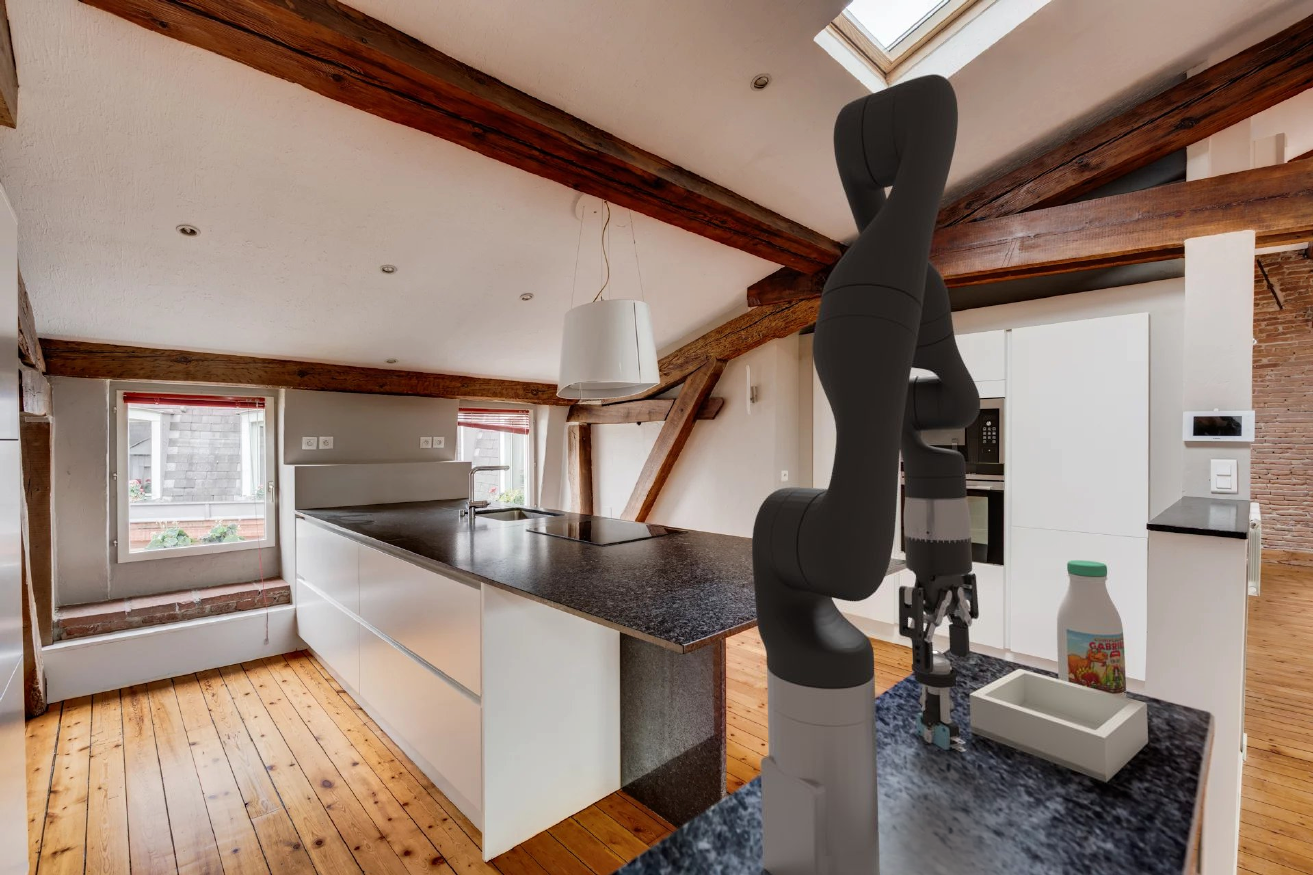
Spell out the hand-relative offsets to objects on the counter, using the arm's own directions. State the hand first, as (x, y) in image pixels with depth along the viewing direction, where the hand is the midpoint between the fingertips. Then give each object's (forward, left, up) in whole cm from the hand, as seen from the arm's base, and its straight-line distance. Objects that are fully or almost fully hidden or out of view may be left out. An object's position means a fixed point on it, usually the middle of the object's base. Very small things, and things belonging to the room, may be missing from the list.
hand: (942, 662), depth 72 cm
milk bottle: (+28, -7, -10) cm, 30 cm away
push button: (0, 0, -10) cm, 10 cm away
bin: (+13, -8, -10) cm, 18 cm away
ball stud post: (+10, +6, -10) cm, 15 cm away
